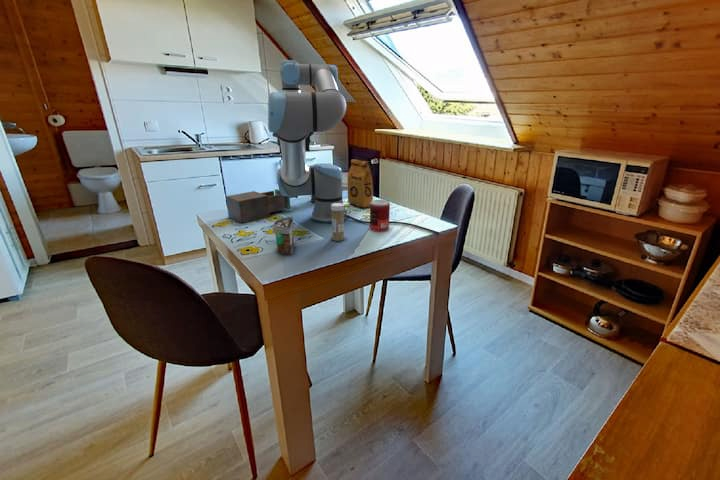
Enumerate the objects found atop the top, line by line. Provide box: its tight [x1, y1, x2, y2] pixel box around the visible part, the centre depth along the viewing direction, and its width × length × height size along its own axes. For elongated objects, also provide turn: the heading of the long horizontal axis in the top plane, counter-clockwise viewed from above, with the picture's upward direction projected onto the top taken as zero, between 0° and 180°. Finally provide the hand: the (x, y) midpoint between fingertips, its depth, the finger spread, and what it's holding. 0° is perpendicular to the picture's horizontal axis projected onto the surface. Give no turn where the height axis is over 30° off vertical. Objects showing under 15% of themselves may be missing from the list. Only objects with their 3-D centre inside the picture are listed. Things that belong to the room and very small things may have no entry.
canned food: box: [369, 199, 391, 232], centre depth 138 cm, size 8×8×11 cm
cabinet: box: [225, 190, 271, 224], centre depth 152 cm, size 14×12×10 cm
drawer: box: [260, 188, 299, 214], centre depth 162 cm, size 18×10×8 cm, turn 136°
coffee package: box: [347, 159, 374, 209], centre depth 169 cm, size 10×12×22 cm
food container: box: [272, 216, 295, 256], centre depth 117 cm, size 12×6×10 cm, turn 5°
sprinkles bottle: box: [331, 203, 345, 242], centre depth 126 cm, size 5×5×13 cm
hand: (295, 152), depth 155 cm, fingers open, 13 cm apart
